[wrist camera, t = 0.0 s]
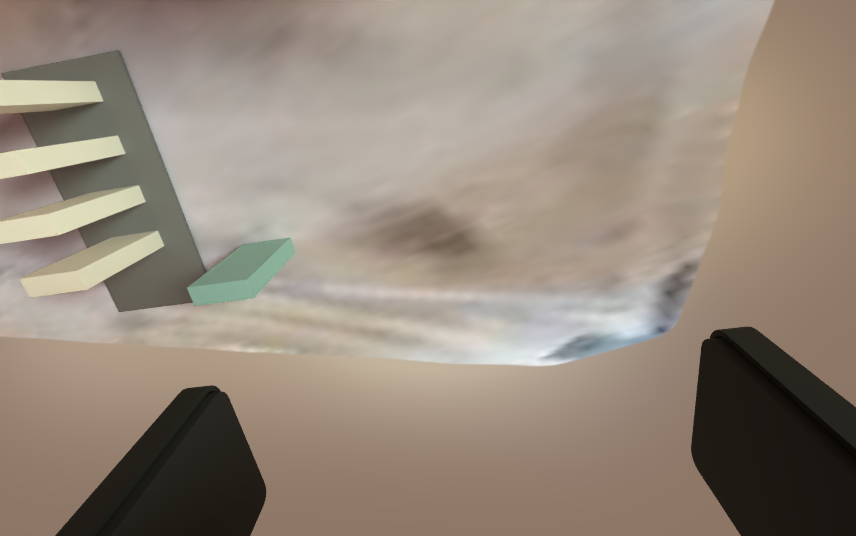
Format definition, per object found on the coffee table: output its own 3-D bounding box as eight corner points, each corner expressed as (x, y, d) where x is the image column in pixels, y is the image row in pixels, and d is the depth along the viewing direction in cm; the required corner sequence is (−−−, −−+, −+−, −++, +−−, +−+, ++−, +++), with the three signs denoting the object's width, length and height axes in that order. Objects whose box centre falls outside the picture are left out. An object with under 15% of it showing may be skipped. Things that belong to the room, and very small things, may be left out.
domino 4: (111, 237, 47) (19, 278, 37) (157, 230, 46) (77, 270, 36) (118, 252, 48) (29, 297, 37) (164, 246, 47) (87, 289, 37)
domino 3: (90, 192, 45) (-13, 223, 35) (138, 185, 44) (48, 214, 34) (98, 209, 46) (-1, 244, 36) (145, 201, 45) (59, 235, 35)
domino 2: (67, 144, 43) (-49, 161, 33) (117, 135, 43) (15, 150, 32) (76, 162, 44) (-35, 184, 34) (125, 153, 43) (27, 174, 33)
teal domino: (242, 244, 47) (186, 287, 37) (290, 237, 47) (247, 279, 36) (247, 259, 48) (194, 305, 38) (295, 252, 47) (253, 298, 37)
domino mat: (5, 73, 41) (1, 73, 41) (120, 51, 40) (116, 50, 40) (121, 310, 51) (119, 311, 51) (216, 297, 50) (214, 299, 49)
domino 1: (43, 91, 41) (-89, 92, 31) (95, 81, 41) (-22, 79, 31) (52, 110, 42) (-74, 118, 32) (103, 101, 41) (-8, 106, 31)
